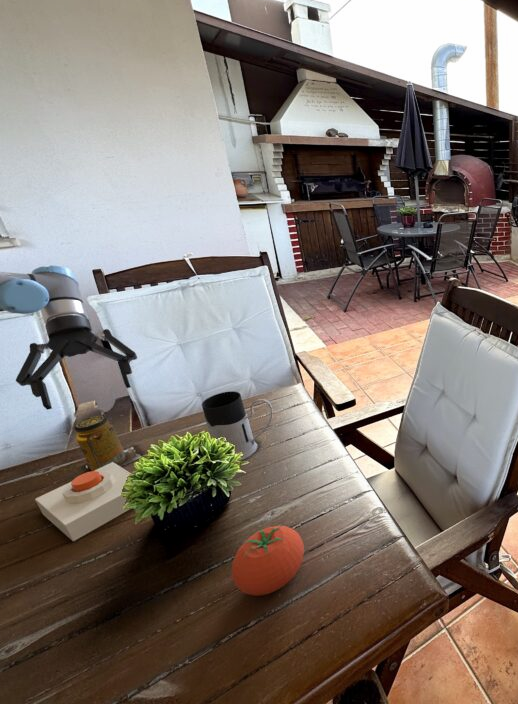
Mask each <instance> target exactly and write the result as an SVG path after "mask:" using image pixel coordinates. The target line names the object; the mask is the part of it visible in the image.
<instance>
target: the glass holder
mask: <svg viewBox="0 0 518 704" xmlns="http://www.w3.org/2000/svg"><path fill="white" fill-rule="evenodd" d="M259 402H263V403H266V404H267V405H268V406H269V410H270V417H269V421H268V423H267V424H266V425H265V427H264V428H263V429H261V431H260V432H258V433H257V434H256V435H255V436H253V431H252V429H251V424H250V420H249V418H252V417H253V416H254V413H255V412H254V405H255V404H256V403H259ZM201 408H202V411H203V417H204V421H205V423H206V427H207V430H208V433H209V436H210V435H211V436H212V437H213V438H216V439H218V438H220V437H225V438H226V440H227V441H228V442H229V443H231V444H233V445H235V452H242V453H243V457H242V460H241V461H244V460H245V459H247V458H249V457H250V456H252V455H253V454H254V453H255V452H256V451H257V449H258V444H257V442H255V440H256V439H258V438H259V436H260V435H261V434H263V433H264V432H265V431H266V430H267V429H268V428H269V426H270V425H271V423H272V420H273V417H274V415H273V414H274V411H273V406H272V404H271V402H270V401H269V400H268V399H265V398H258V399H256V400H254V401H253V402H252V403H251V404H250V413H251V414H249V415H248V414H247V411H246V409H245V405H244V403H243V398H242V395H241V393H240V392H239V391H233V390H232V391H231V390H230V391H223V392H220V393H217V394H213V395H211V396H209V397H208V398H206V399H204V400H203V401H202V402H201ZM211 436H210V437H211Z"/></svg>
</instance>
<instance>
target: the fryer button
mask: <svg viewBox="0 0 518 704" xmlns="http://www.w3.org/2000/svg"><path fill="white" fill-rule="evenodd" d="M101 481H102V478H101V475H100V473H99V472H98V471H92V470H91V471H87V472H84V473H82V474H80V475H78V476H76V477H74V479H73V480H72V481H70V482H71V485H72V487H73V489H74V491H75V492H81V491H85V490H88V489H90V488H92V487H94V486H96V485H98V484H99V483H100V482H101Z"/></svg>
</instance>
